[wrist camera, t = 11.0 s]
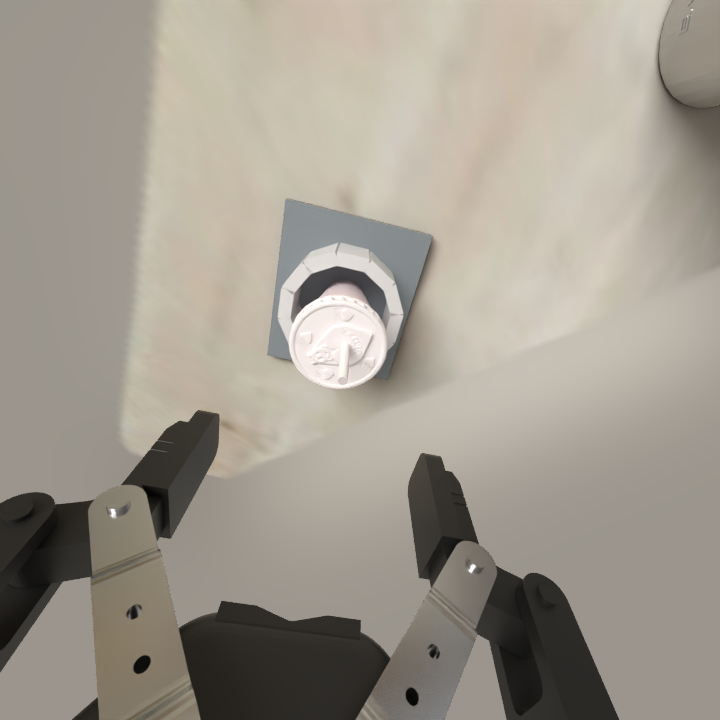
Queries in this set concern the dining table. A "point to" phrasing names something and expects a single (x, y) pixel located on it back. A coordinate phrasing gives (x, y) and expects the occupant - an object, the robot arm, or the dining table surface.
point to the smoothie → (338, 338)
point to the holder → (345, 269)
